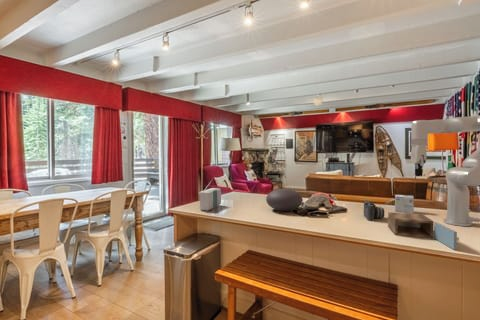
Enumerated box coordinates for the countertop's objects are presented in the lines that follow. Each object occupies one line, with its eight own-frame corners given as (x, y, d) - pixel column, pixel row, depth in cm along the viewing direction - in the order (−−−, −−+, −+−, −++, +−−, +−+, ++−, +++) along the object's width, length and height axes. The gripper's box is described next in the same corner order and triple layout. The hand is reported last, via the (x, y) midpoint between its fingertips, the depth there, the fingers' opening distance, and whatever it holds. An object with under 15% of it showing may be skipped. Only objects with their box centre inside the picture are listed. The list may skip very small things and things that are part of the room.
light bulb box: (413, 211, 178) (413, 195, 177) (413, 213, 172) (414, 197, 171) (395, 209, 183) (395, 194, 183) (394, 211, 178) (394, 195, 177)
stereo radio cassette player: (208, 211, 182) (208, 182, 181) (198, 210, 184) (197, 182, 184) (221, 205, 201) (221, 179, 200) (211, 204, 204) (211, 178, 203)
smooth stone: (276, 205, 201) (276, 185, 200) (308, 209, 186) (308, 188, 186) (259, 211, 181) (259, 189, 180) (293, 216, 166) (293, 193, 166)
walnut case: (422, 229, 138) (422, 214, 138) (433, 238, 125) (433, 221, 125) (387, 227, 143) (388, 212, 143) (395, 235, 129) (395, 218, 129)
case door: (433, 237, 124) (434, 222, 124) (439, 237, 124) (439, 222, 123) (453, 249, 110) (454, 231, 109) (459, 249, 109) (460, 232, 109)
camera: (387, 222, 153) (387, 205, 152) (367, 221, 155) (367, 204, 155) (380, 216, 167) (380, 200, 166) (361, 215, 169) (361, 199, 169)
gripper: (407, 143, 154) (406, 174, 155) (416, 142, 140) (415, 177, 140) (422, 143, 152) (421, 174, 152) (432, 142, 137) (431, 177, 138)
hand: (418, 175), depth 146 cm, fingers closed
